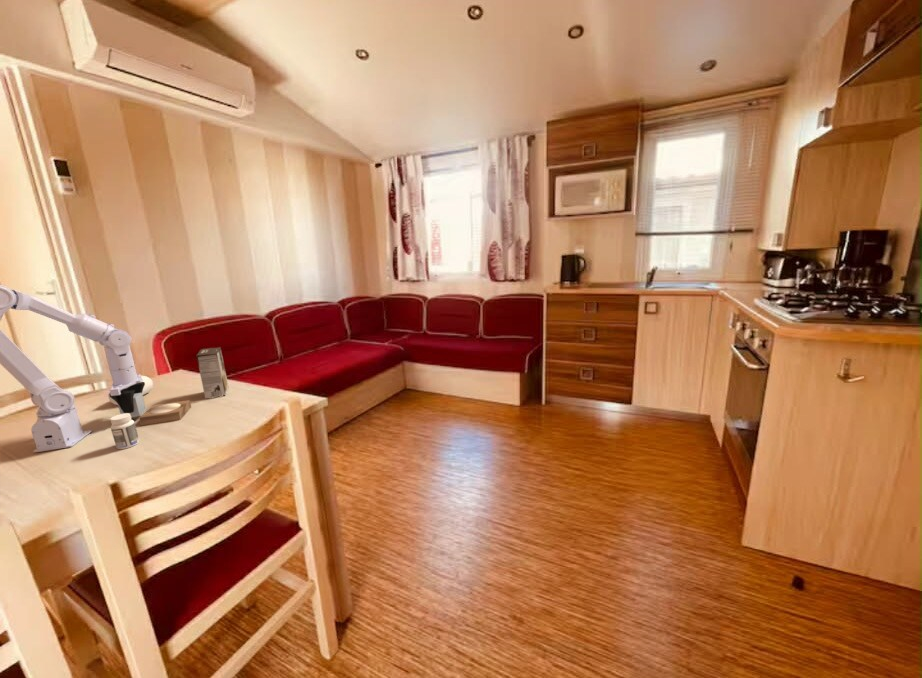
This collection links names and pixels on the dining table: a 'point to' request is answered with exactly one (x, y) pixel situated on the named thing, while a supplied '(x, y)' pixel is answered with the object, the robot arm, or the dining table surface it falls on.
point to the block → (137, 405)
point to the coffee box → (212, 372)
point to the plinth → (165, 412)
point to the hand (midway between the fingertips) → (132, 409)
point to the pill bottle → (124, 431)
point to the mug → (146, 389)
